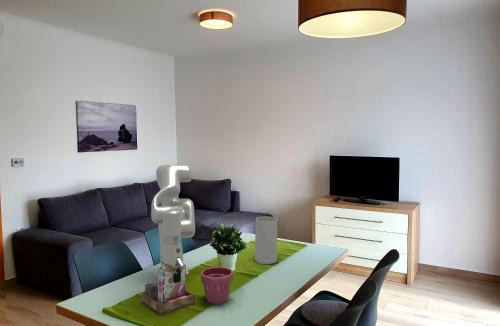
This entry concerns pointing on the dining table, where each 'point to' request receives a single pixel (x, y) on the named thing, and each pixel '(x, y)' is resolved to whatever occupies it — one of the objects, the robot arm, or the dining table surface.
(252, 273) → the dining table surface
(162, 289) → the candy bar box
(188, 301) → the tray
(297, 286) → the dining table surface
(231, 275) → the plant pot
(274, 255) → the cylinder vase
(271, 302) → the dining table surface
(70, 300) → the dining table surface
